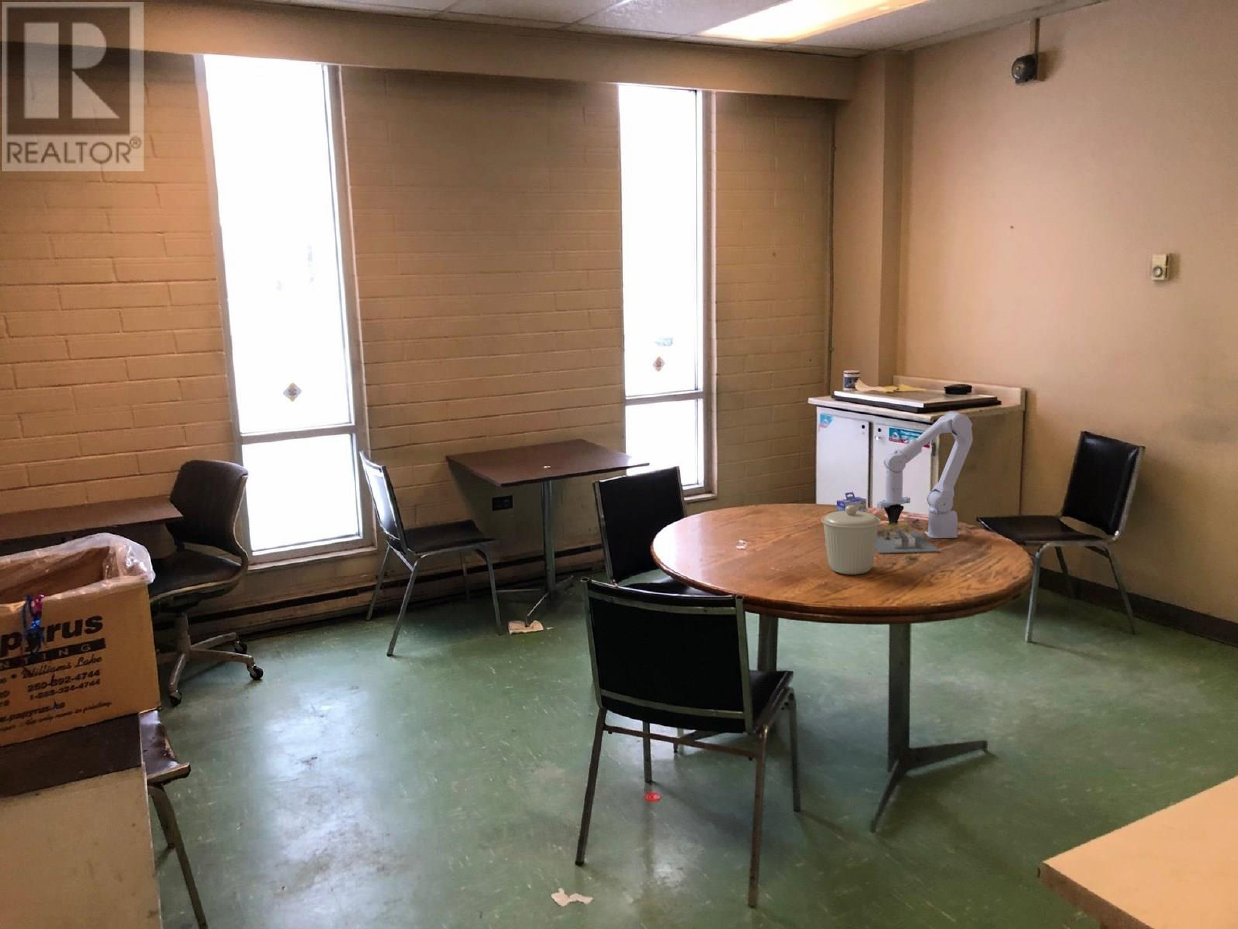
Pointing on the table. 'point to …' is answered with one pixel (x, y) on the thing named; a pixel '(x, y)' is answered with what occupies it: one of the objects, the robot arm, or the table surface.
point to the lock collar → (894, 527)
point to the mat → (904, 545)
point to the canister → (850, 540)
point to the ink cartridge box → (852, 503)
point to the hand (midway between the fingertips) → (893, 525)
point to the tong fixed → (906, 538)
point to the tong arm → (894, 538)
